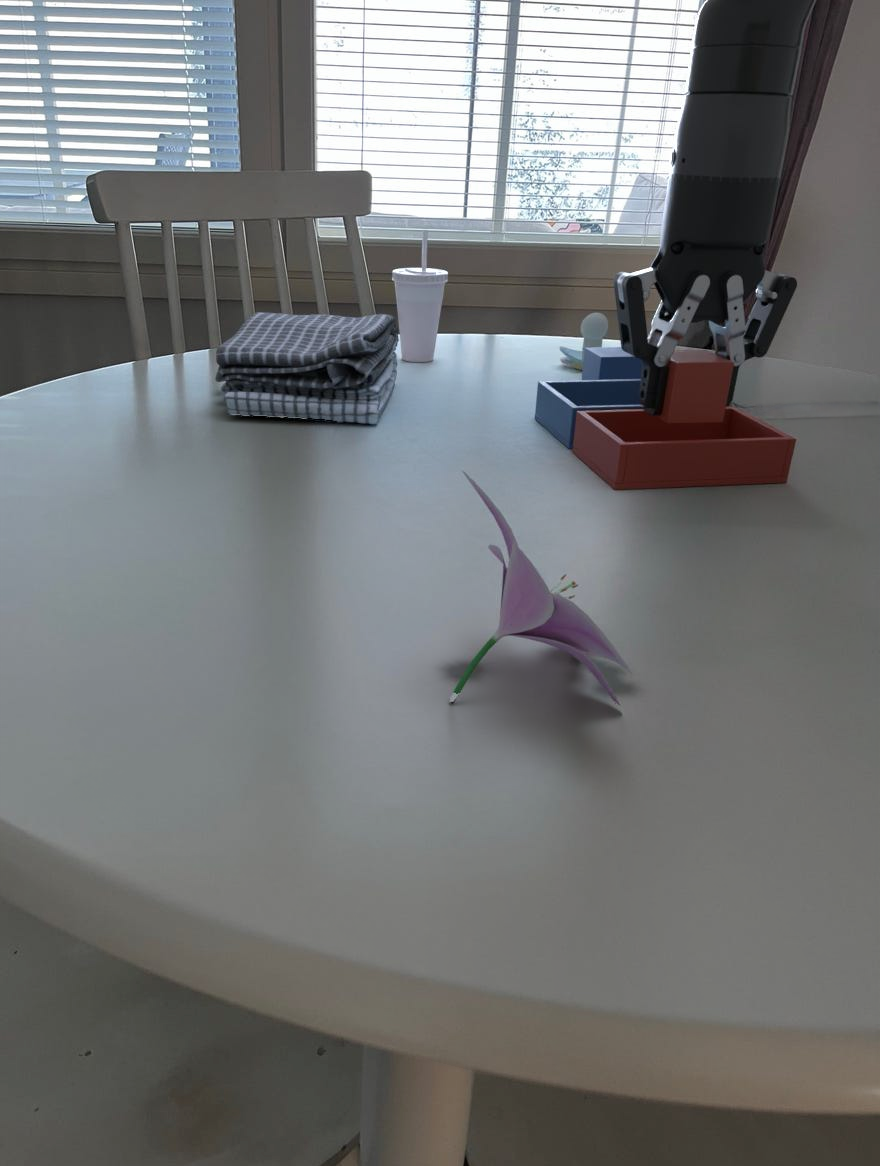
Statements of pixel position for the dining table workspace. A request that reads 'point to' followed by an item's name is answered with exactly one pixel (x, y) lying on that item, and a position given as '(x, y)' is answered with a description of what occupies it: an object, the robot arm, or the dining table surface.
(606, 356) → the blue block
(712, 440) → the red bin
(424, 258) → the smoothie
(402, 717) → the dining table surface
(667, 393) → the red block
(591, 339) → the pacifier
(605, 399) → the blue bin
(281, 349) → the towel
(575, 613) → the lily
